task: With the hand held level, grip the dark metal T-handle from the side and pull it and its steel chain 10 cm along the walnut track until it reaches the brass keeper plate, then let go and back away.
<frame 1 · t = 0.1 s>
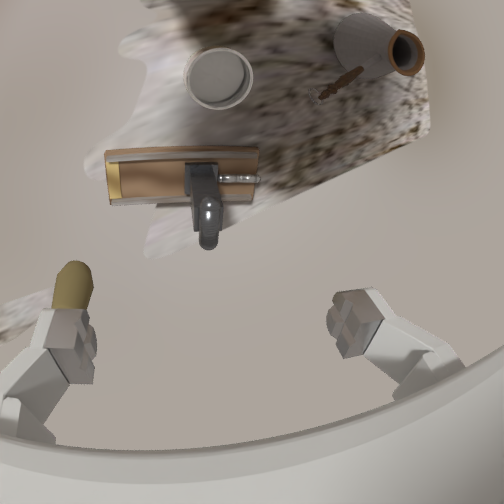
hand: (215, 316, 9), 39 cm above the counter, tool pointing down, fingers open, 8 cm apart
coffee pot: (332, 53, 38), on the counter
track: (181, 172, 46), on the counter
squeeze bottle: (78, 270, 53), on the counter
handle: (225, 198, 41), point 9 cm above the counter, slide at 0.0 cm
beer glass: (206, 67, 36), on the counter
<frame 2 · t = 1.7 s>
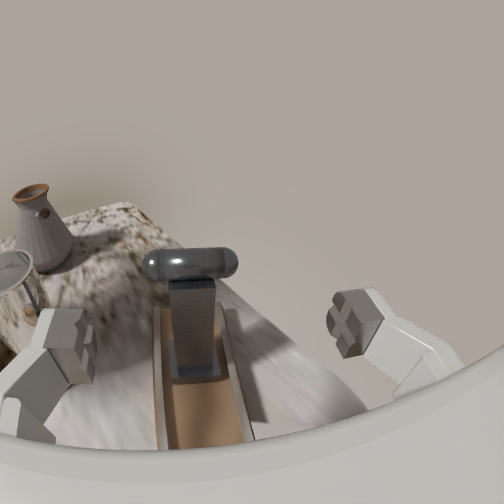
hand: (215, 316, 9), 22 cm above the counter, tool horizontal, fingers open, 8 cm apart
coffee pot: (54, 274, 41), on the counter
track: (197, 395, 29), on the counter
handle: (189, 296, 28), point 9 cm above the counter, slide at 0.0 cm
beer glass: (54, 373, 27), on the counter
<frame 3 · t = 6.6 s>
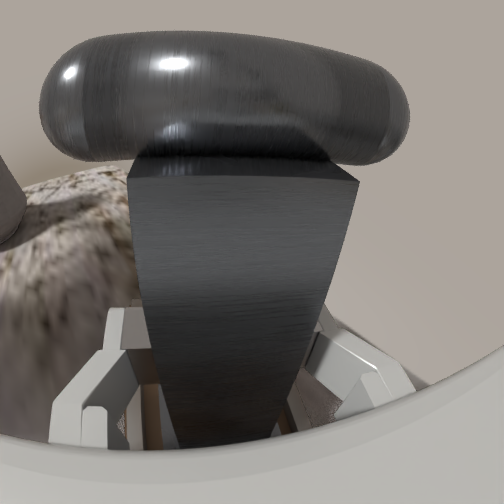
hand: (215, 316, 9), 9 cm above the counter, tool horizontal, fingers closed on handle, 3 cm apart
track: (228, 488, 11), on the counter
handle: (208, 266, 11), point 9 cm above the counter, slide at 0.0 cm, touching gripper
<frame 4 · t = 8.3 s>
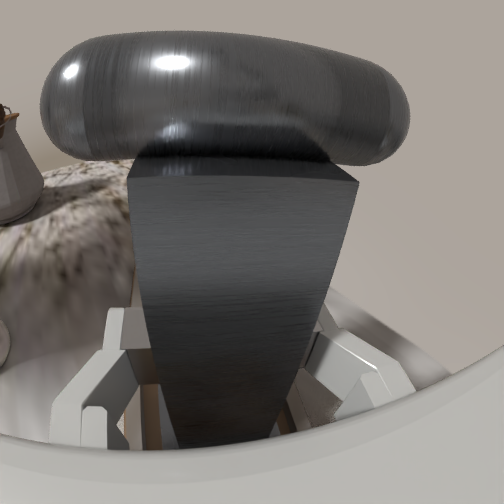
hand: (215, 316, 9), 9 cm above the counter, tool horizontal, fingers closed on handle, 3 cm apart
coffee pot: (15, 225, 28), on the counter
track: (208, 396, 15), on the counter
handle: (208, 265, 11), point 9 cm above the counter, slide at 5.6 cm, touching gripper
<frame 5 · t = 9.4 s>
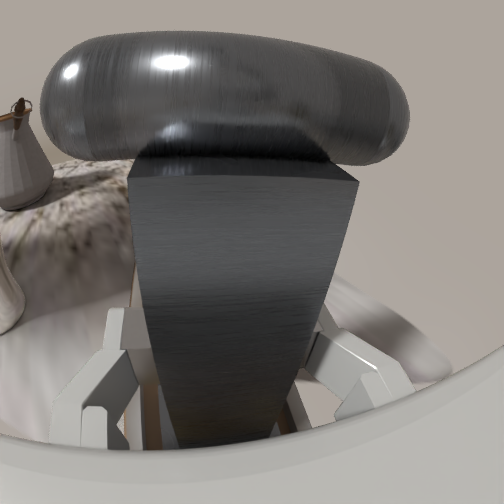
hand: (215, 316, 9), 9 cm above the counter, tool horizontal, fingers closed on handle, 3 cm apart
coffee pot: (27, 210, 31), on the counter
track: (199, 340, 19), on the counter
handle: (208, 265, 11), point 9 cm above the counter, slide at 9.9 cm, touching gripper
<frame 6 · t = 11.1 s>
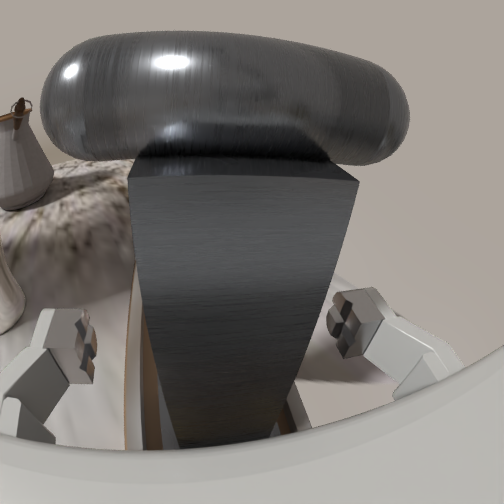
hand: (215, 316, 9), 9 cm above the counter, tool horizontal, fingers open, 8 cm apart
coffee pot: (27, 210, 31), on the counter
track: (199, 339, 19), on the counter
handle: (208, 265, 11), point 9 cm above the counter, slide at 10.0 cm
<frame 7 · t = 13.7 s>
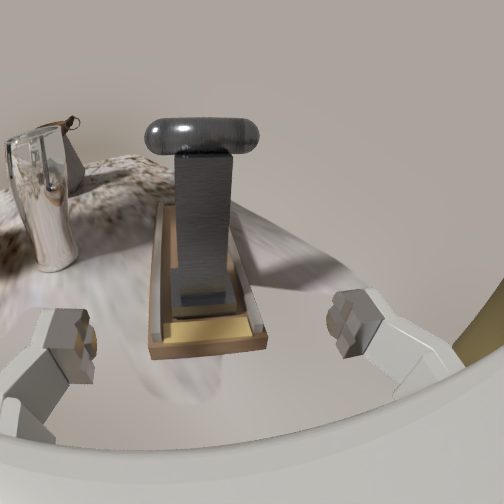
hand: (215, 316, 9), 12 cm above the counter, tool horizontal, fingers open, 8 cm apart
coffee pot: (66, 198, 44), on the counter
track: (195, 264, 32), on the counter
squeeze bottle: (463, 395, 19), on the counter
handle: (197, 202, 23), point 9 cm above the counter, slide at 10.0 cm
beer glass: (56, 259, 30), on the counter
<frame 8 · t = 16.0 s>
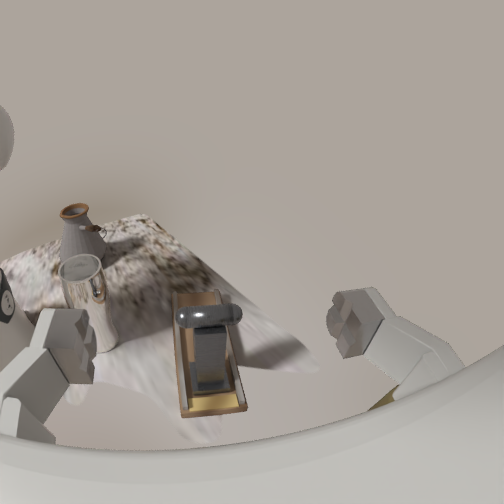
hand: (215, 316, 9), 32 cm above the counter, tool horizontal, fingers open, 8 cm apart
coffee pot: (93, 271, 58), on the counter
track: (202, 349, 46), on the counter
handle: (205, 331, 38), point 9 cm above the counter, slide at 10.0 cm
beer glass: (102, 339, 44), on the counter
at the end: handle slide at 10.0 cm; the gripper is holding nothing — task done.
